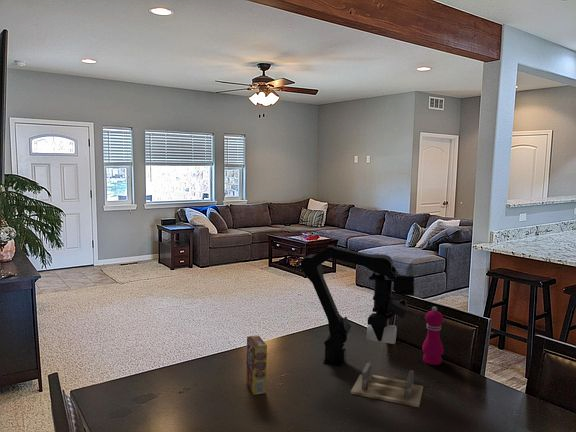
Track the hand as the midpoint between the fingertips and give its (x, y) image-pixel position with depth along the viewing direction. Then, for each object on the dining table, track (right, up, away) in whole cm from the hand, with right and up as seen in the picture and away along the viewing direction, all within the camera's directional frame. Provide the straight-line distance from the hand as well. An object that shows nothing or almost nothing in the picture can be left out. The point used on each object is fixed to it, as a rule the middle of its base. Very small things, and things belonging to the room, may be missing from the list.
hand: (381, 337), depth 152 cm
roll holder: (-1, -12, -15) cm, 19 cm away
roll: (0, -1, 0) cm, 1 cm away
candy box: (-42, -12, -13) cm, 45 cm away
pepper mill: (+20, -11, +7) cm, 23 cm away
